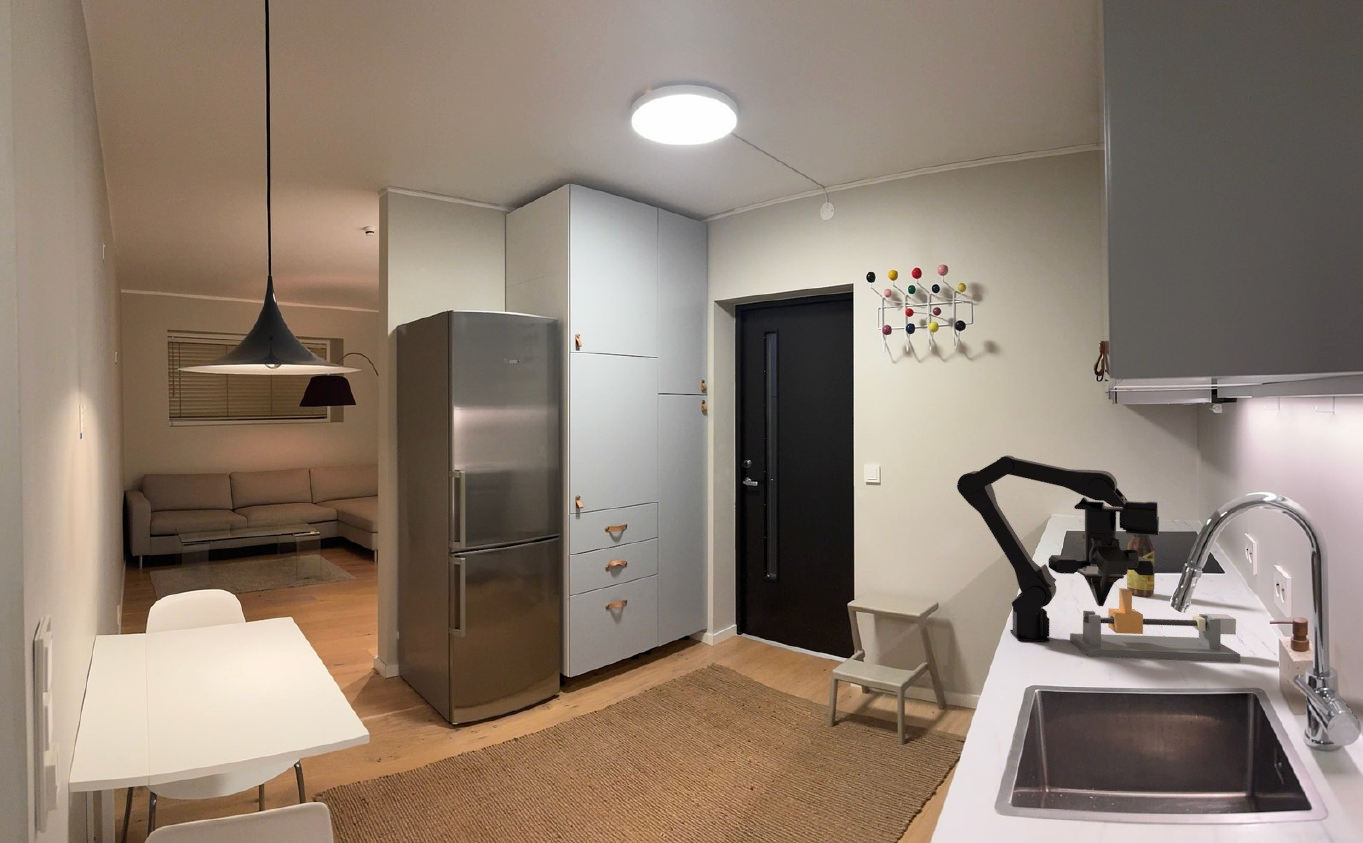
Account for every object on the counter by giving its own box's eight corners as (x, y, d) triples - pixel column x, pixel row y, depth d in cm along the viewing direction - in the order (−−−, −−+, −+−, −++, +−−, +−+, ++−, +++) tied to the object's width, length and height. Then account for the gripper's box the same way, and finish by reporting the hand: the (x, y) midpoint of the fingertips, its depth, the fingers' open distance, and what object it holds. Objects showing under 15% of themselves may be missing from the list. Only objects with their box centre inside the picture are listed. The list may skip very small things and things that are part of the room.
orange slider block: (1116, 633, 151) (1116, 592, 150) (1108, 627, 155) (1108, 587, 154) (1142, 634, 150) (1143, 593, 150) (1133, 628, 154) (1134, 588, 154)
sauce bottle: (1153, 598, 190) (1153, 522, 189) (1125, 595, 194) (1125, 520, 193) (1155, 593, 195) (1155, 519, 195) (1128, 589, 199) (1128, 517, 198)
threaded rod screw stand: (1088, 656, 149) (1088, 619, 149) (1070, 640, 159) (1070, 605, 158) (1245, 662, 144) (1246, 624, 144) (1216, 645, 154) (1217, 609, 154)
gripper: (1066, 538, 146) (1066, 615, 146) (1168, 539, 143) (1168, 618, 143) (1047, 528, 157) (1047, 600, 157) (1141, 529, 154) (1141, 603, 154)
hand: (1100, 606), depth 153 cm, fingers closed
